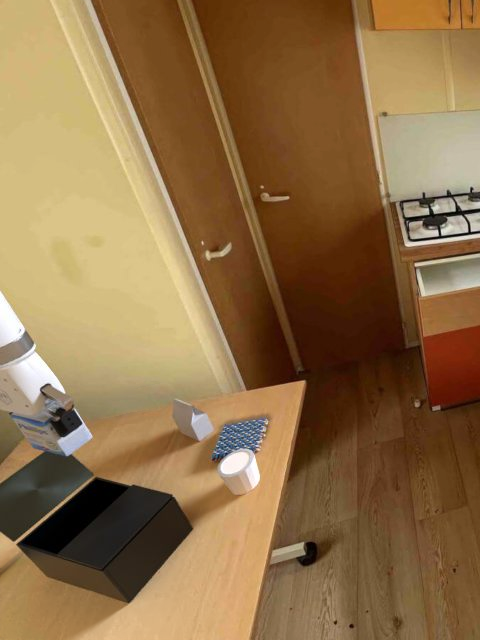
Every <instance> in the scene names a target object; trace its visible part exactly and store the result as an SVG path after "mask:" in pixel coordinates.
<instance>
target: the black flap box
mask: <svg viewBox="0 0 480 640" xmlns="http://www.w3.org/2000/svg"><path fill="white" fill-rule="evenodd" d="M193 531H194V527H193V525H192V524H191V522H190V520H189V518H188V517H187V516H186V514H185V512H184V511H183V508H182V507H181V506H180V503H179V502H178V501H177V499H176V497H175V496H174V495H173V494H172V493H168V492H165V491H160V490H157V489H153V488H150V487H145V486H141V485H136V484H131V485H130V484H126V483H122V482H120V481H119V482H118V481H115V480H111V479H106V478H103V477H99V476H95V477H94V478H92V480H90V481H89V482H88V483H87V484H85V486H83V487H82V488H81V489H80V490H78V492H76V493H75V494H74V495H73V496H71V498H69V499H68V500H67V501H65V502H64V503H63V504H62V505H61V506H59V508H57V509H56V510H54V512H52V513H51V514H50V515H49V516H47V518H46V519H44V520H43V521H42V522H40V523H39V525H37V526H36V527H35V528H34V529H33V530H31V531H30V532H29V533H27V534H26V535H25V536H24V537H23V538H21V540H20V541H18V542H17V543H16V544H15V545H16V546H17V547H18V548H19V550H21V552H22V553H23V554H24V555H25V556H26V557H27V558H28V559H29V560H30V561H31V562H32V563H33V564H34V565H35V566H36V567H37V568H38V569H39V571H40V572H42V573H43V574H44V576H45V577H47V578H49V579H53V580H56V581H58V582H62V583H65V584H68V585H71V586H74V587H77V588H81V589H83V590H87V591H90V592H92V593H96V594H98V595H102V596H105V597H108V598H111V599H113V600H118V601H120V602H123V603H127V604H131V602H133V600H134V599H135V598H136V597H137V595H138V594H139V593H140V592H141V591H142V590H143V588H145V586H146V585H147V584H148V583H149V582H150V581H151V579H152V578H153V577H154V576H155V575H156V574H157V572H158V571H160V569H161V568H162V566H163V565H165V563H166V562H167V561H168V560H169V558H170V557H171V556H172V555H173V554H174V552H176V550H177V549H179V547H180V545H181V544H182V543H183V542H184V541H185V540H186V538H188V537H189V535H190V534H191V533H192V532H193Z"/></svg>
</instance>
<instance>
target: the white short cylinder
mask: <svg viewBox="0 0 480 640" xmlns="http://www.w3.org/2000/svg"><path fill="white" fill-rule="evenodd" d="M216 473H217V474H218V476H219V477H220V479H221V480H222V481H223V483H224V484H225V485H226V487H227V488H228V490H229V491H230V492H231V494H232V495H235V496H242V495H245V494H248V493H250V492H251V491H252V490H254V489H255V487H257V485H258V483H260V477H261V476H260V471H259V468H258V463H257V460H256V456H255V453H253V452H252V450H249V449H239V450H236V451H233V452H232V453H230V454H228V455H227V456H226V457H225V458H224V459H222V460H221V461H219V464H218V465H217V469H216Z"/></svg>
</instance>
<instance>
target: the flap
mask: <svg viewBox="0 0 480 640" xmlns="http://www.w3.org/2000/svg"><path fill="white" fill-rule="evenodd" d="M93 476H95V473H93V472H92V471H91V469H89V468H88V467H87V466H86V465H85V464H83V462H82V461H80V460H79V459H78V458H77V457H76V456H75V455H74V454H73V453H72V454H70V455H69V456H62V455H58V454H54V453H50V452H46V451H42V452H41V453H40V454H38V455H36V457H34V458H33V459H31V460H30V461H29V462H27V463H26V464H25V465H23V466H22V467H20V468H19V469H18V470H17V471H15V472H14V473H12V474H10V475H9V476H8V477H6V478H5V479H4V480H3V481H1V482H0V533H1V534H2V535H3V536H5V537H6V538H8V539H9V540H10V541H11V542H13V543H14V542H16V541H17V540H19V538H21V537H22V536H24V534H26V533H27V532H28V531H30V529H31V528H33V527H34V526H35V525H36V524H38V523H39V522H40V521H41V520H42V519H44V518H45V517H46V516H47V515H48V514H50V512H52V511H53V510H54V509H56V508H57V507H58V506H59V505H60V504H61V503H63V502H64V501H65V500H66V499H67V498H69V497H70V496H71V495H72V494H74V493H75V492H76V491H77V490H78V489H79V488H81V487H82V486H83V485H84V484H85V483H86V482H88V481H89V480H90V479H91V478H93Z"/></svg>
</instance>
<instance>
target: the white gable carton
mask: <svg viewBox="0 0 480 640" xmlns="http://www.w3.org/2000/svg"><path fill="white" fill-rule="evenodd" d="M172 401H173V406H172V407H173V408H172V414H171V417H172V419H173V420H174V423H175V425H176V426H177V428H178V431H179V433H180V434H181V435H184V436H186V437H189V438H191V439H193V440H195V441H197V442H202V441H203V440H205V438H207V436H209V435H210V434H211V433H213V432H214V431H215V429H214V426H213V424H212V422H211V420H210V418H209V416H208V413H207V412H206V411H203V410H200V409H198V408H197V407H196V406H195V405H194V404H191V403H188V402H187V401H183V400H181V399H179V398H176V397H175V398H173V399H172Z"/></svg>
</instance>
